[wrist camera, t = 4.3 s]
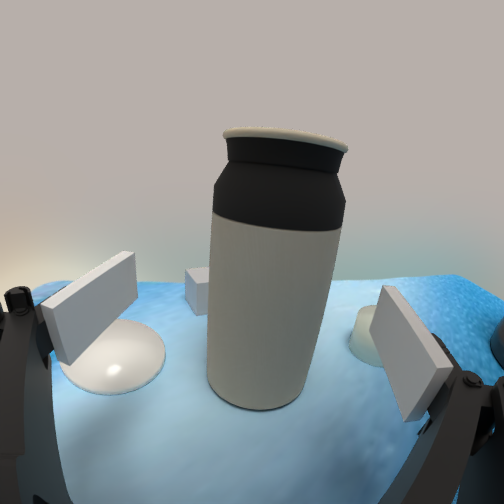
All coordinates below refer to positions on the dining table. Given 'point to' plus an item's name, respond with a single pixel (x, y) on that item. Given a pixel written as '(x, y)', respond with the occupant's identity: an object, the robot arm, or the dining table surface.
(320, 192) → the travel mug
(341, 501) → the dining table surface
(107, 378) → the saucer
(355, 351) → the beige rounded cylinder
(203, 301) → the grey cube
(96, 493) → the dining table surface
